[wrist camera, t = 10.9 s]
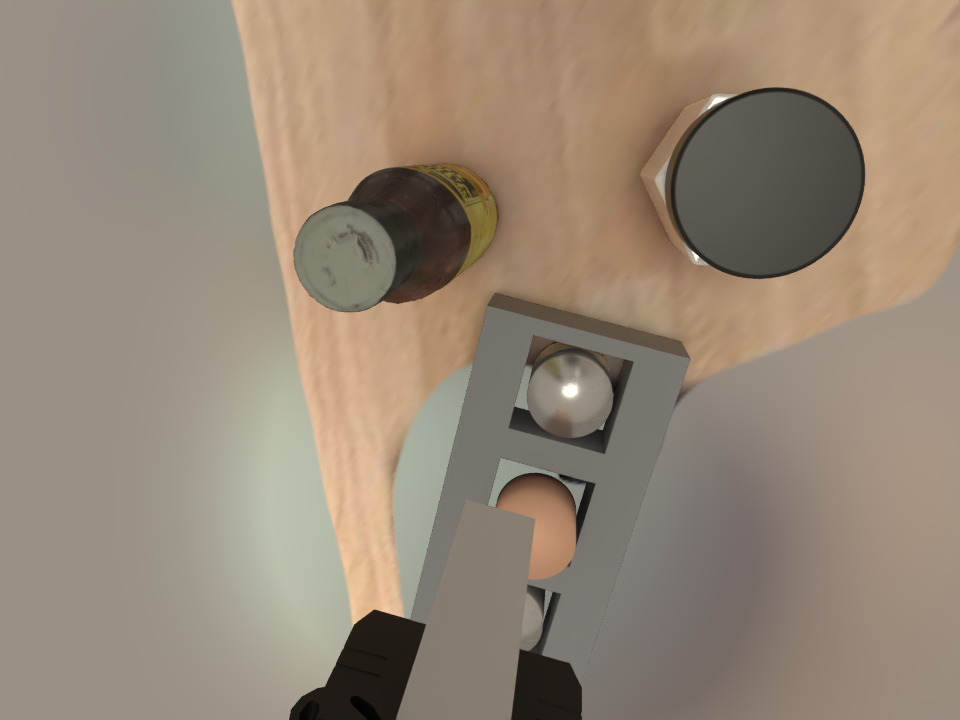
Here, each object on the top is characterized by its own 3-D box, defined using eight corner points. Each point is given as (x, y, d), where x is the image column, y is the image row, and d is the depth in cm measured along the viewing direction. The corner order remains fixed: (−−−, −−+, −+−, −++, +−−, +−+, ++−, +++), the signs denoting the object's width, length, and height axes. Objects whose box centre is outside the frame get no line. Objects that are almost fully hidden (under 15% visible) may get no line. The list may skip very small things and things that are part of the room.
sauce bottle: (504, 167, 45) (451, 179, 26) (496, 270, 47) (439, 351, 28) (398, 158, 46) (270, 163, 27) (393, 260, 47) (270, 333, 28)
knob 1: (483, 549, 51) (475, 580, 48) (553, 568, 51) (551, 602, 47) (466, 609, 53) (458, 644, 49) (535, 628, 53) (531, 665, 49)
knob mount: (495, 293, 47) (487, 305, 43) (681, 341, 46) (690, 358, 43) (416, 609, 54) (404, 644, 50) (577, 655, 53) (577, 694, 50)
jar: (727, 279, 45) (778, 322, 34) (615, 204, 45) (628, 223, 33) (826, 148, 42) (917, 148, 31) (707, 68, 42) (756, 37, 31)
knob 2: (542, 331, 47) (539, 347, 43) (619, 351, 47) (623, 369, 43) (522, 403, 48) (517, 425, 44) (597, 423, 48) (599, 447, 44)
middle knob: (507, 463, 46) (500, 491, 42) (585, 485, 46) (586, 515, 42) (488, 533, 48) (480, 566, 44) (564, 554, 47) (562, 589, 44)
